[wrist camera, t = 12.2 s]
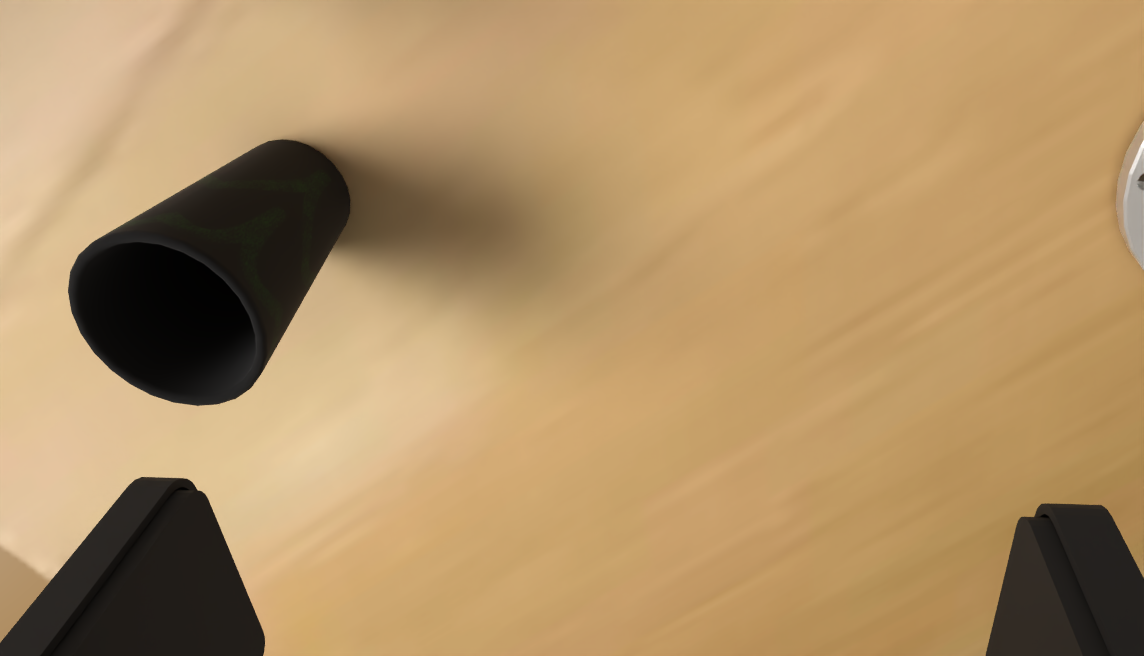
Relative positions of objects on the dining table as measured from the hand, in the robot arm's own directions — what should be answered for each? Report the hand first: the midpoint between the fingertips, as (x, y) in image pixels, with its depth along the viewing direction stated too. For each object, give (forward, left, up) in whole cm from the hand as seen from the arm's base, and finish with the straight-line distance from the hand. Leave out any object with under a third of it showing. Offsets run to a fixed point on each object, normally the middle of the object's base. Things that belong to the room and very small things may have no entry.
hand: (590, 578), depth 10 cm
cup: (+19, +8, -31) cm, 37 cm away
